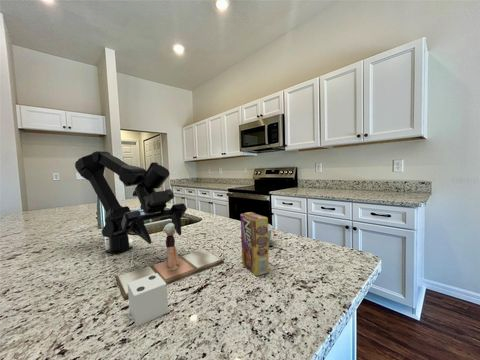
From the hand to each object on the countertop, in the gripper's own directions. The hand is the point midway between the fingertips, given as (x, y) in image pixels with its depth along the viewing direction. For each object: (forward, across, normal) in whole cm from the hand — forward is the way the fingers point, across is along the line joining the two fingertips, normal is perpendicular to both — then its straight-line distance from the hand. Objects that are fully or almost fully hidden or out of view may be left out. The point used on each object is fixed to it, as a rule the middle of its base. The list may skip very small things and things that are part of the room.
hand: (166, 238), depth 63 cm
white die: (+17, -12, -5) cm, 21 cm away
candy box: (+20, +16, -8) cm, 27 cm away
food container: (+12, +31, +1) cm, 33 cm away
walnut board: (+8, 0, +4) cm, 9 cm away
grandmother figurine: (+7, 0, +4) cm, 8 cm away
